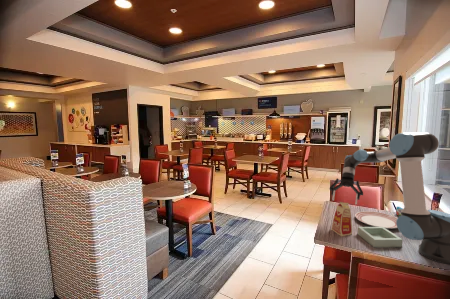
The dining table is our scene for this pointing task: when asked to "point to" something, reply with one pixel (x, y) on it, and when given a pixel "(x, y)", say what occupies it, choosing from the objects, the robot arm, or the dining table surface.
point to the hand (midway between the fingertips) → (344, 201)
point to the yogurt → (398, 211)
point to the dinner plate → (377, 219)
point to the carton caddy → (379, 237)
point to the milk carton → (342, 220)
